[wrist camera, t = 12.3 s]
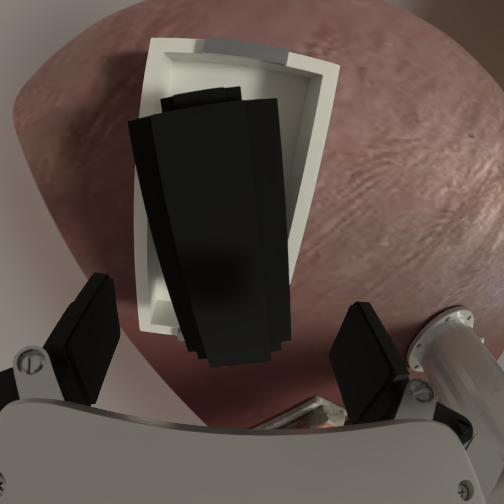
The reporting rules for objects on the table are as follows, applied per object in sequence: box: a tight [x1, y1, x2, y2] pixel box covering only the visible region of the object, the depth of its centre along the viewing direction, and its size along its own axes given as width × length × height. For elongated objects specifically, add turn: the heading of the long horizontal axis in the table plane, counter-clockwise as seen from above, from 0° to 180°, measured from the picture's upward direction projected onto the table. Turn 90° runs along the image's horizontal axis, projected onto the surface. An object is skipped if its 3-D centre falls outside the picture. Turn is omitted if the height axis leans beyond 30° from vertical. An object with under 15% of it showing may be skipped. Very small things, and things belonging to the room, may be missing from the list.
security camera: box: [128, 86, 291, 367], centre depth 19 cm, size 7×18×10 cm, turn 6°
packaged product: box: [253, 396, 347, 429], centre depth 41 cm, size 18×5×10 cm
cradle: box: [134, 37, 340, 341], centre depth 21 cm, size 12×23×5 cm, turn 171°
